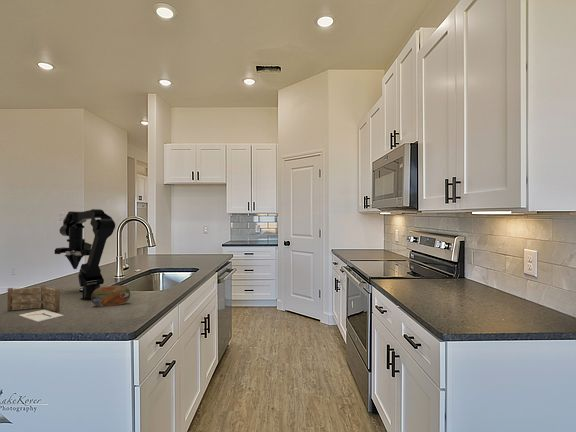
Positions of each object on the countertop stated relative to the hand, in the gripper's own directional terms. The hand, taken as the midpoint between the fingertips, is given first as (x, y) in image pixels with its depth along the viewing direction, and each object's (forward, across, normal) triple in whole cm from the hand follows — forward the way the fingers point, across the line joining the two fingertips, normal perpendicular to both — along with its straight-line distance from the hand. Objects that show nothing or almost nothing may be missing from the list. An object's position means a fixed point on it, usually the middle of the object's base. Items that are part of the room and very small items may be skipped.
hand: (75, 269), depth 169 cm
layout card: (+12, -15, +34) cm, 39 cm away
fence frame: (+12, -11, +26) cm, 31 cm away
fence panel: (+12, -1, +28) cm, 30 cm away
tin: (+12, -30, +14) cm, 35 cm away
